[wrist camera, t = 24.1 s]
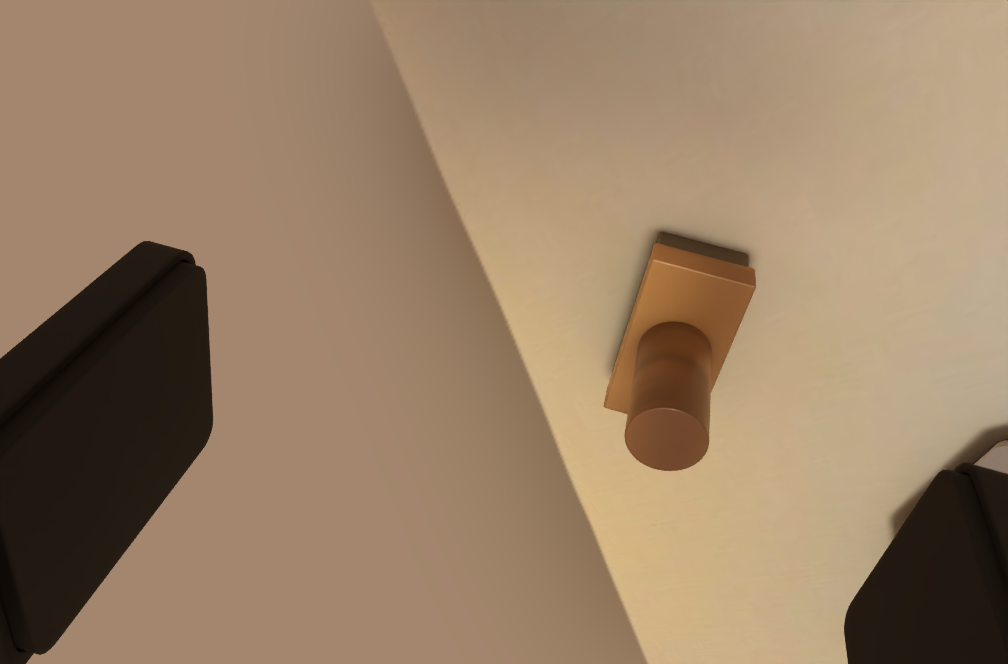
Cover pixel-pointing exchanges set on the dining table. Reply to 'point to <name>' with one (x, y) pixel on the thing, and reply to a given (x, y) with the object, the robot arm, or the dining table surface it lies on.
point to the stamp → (678, 349)
